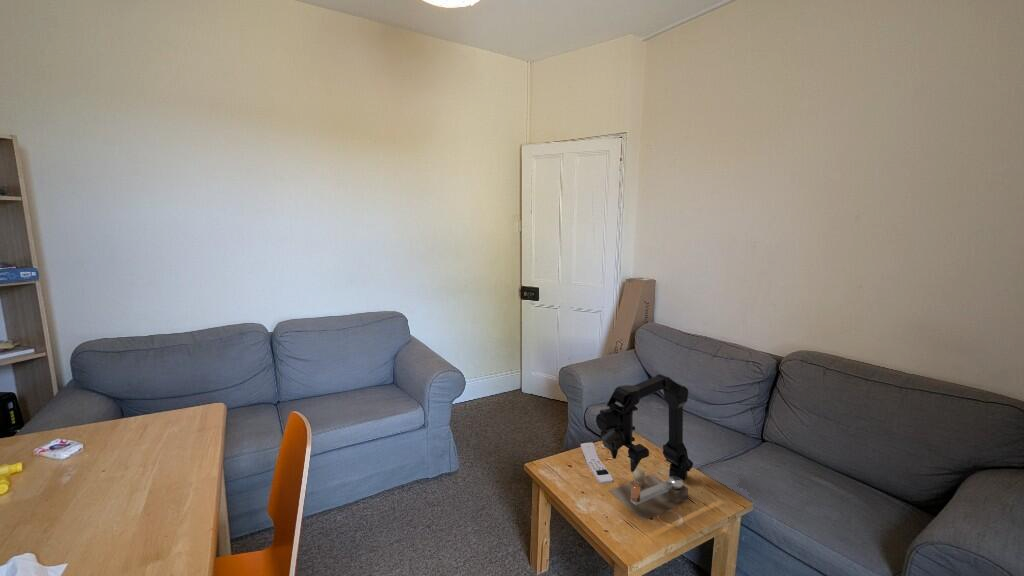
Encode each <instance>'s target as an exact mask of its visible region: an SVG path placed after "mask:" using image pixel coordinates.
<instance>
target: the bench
mask: <svg viewBox="0 0 1024 576" xmlns="http://www.w3.org/2000/svg"><path fill="white" fill-rule="evenodd" d="M663 482H664V481H663V480H662V479H660V478H659V477H658V476H656V475H655V474H653V473H650V474H648V475H645V477H644V487H643V488H640V492H641V491H643V490H646V489H648V488H651V487H653V486H656V485H658V484H660V483H663ZM631 484H633V480H632V481H629V482H627V483H625V484H622V485H619V486H617V487H614V488H612V489H609V490H607V491H608V493H610V494H611V495H612V496H613V497H614V498H616V499H617V500H618V501H619V502H620V503H622V505H624V506H625V507H626V508H627V509H629V510H630V511H631V512H632V513H633V514H635V515H636V516H637V517H638V518H640V520H642V521H643V522H645V521H647V520H650V519H651V518H654V517H656V516H658V515H660V514H662V513H665V512H667V511H668V510H671V509H673V508H675V507H679V505H680V506H681V505H682V504H685V503H687V502H688V501H690V499H689V498H688V497H689V495H688V493H689V487H688V486H686V485H684V484H683V488H682V489H680V490H676V489H672V490H670V491H668V492H665V493H663V494H661V495H658V496H656V497H654V498H651V499H649V500H647V501H644V502H642V503H640V504H637V505H635V504H634V503H632V502H631Z"/></svg>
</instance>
